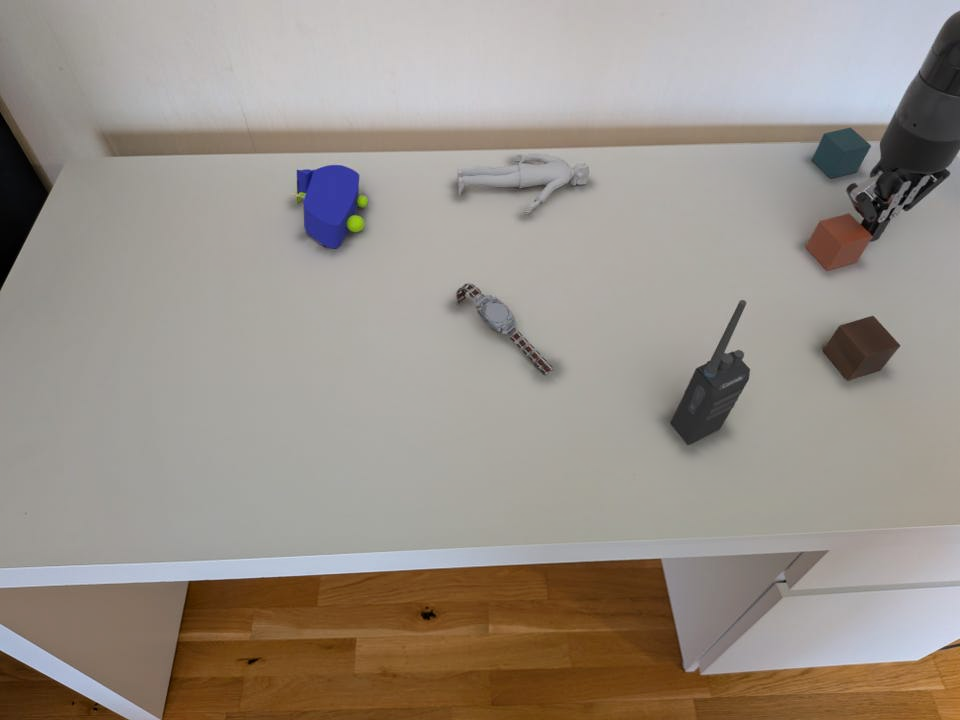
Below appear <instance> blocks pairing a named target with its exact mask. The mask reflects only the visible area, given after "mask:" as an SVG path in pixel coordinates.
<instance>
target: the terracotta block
mask: <svg viewBox="0 0 960 720" xmlns="http://www.w3.org/2000/svg"><path fill="white" fill-rule="evenodd" d="M872 237H873V236H872V235H871V234H870V233H869V232H868V231H867V230H866V229H865V228H864V227H863V226H862V225H861V222H859V221H858V219H856V218H855V217H854V216H853V214H851V213H844V214H841V215H837V216H834V217H829V218H826V219H821V220H819V221H818V223H817V224H816V227H815V229H814V230H813V233H812V235H811V236H810V238H809V239H808V242H807V244H806V246H805V249H806V250H807V251H808V252H809V253H810V255H812V256H813V258H814V259H815V260H816V261H817V262H818V263H819V264H820V265H821V266H822V268H823V269H824V270H825V271H827V272H828V271H831V270H836V269H839V268H842V267H846V266H849V265H853V264H857V263H858V262H859V260H860V258H861V256H862V255H863V253H864V251H865V250H866V248H867V247H868V245H869V243H871V242H870V240H871V239H872Z"/></svg>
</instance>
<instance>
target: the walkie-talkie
mask: <svg viewBox="0 0 960 720" xmlns="http://www.w3.org/2000/svg"><path fill="white" fill-rule="evenodd" d="M746 305H747V301H746V300H745V299H741V300H739V302H738V304H737V306H736V308H735V309H734V312H733V314H732V316H731V318H730V320H729V321H728V323H727V326H726V328H725V330H724V332H723V333H722V335H721V338H720V340H719V342H718V343H717V346H716V348H715V350H714V351H713V354H712V355H711V358H710V360H708V361H707V362H706V363H704V364H702V365H700V366H698V367H696V368H695V370H694V372H693V374H692V376H691V379H690V380H689V382H688V385H687V387H686V389H685V391H684V393H683V395H682V398H681V399H680V402H679V404H678V406H677V408H676V410H675V413H674V415H673V416H672V418H671V421H670V424H671V425H672V427H673V428H674V429H675V430H676V432H677V433H678V434H679V435H680V436H681V437H682V439H683V440H684V442H685V443H686V444H687V445H692V444H694V443H697V442H698V441H700V440H702V439H704V438H706V437H708V436H711V435H712V434H713V433H715V432H717V431H719V430H721V429H722V428H723V425H724V423H725V422H726V420H727V418H728V416H729V414H730V413H731V412H732V409H733V408H734V407H735V404H736V402H738V401H739V398H740V396H741V394H742V393H743V390H744V389H745V388H746V385H747V383H748V382H749V381H750V375H751V374H750V373H751V368H750V367H749V366H748V365H747V364H746V363H745V361H744V360H743V359H744V358H745V352H744V351H743V350H740V349H736V350H735V351H730V352H728V353H727V352H726V351H727V348H728V345H729V343H730V341H731V339H732V336H733V334H734V332H735V330H736V327H737V325H738V324H739V321H740V319H741V317H742V314H743V313H744V310H745V308H746Z"/></svg>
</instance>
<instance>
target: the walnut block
mask: <svg viewBox="0 0 960 720" xmlns="http://www.w3.org/2000/svg"><path fill="white" fill-rule="evenodd" d="M901 346H902V345H901V344H900V343H899V342H898V341H897V340H896V338H895V337H894V336H893V335H892V334H891V333H890V332H889V331H888V329H886V328H885V327H884V325H883V324H882V323H881V322H880V321H879V320H878V319H877V318H876V317H875V316H874V315H870V316H867V317H862V318H860V319H857V320H852V321H850V322H846V323H843V324H840V325H838V326H837V327H836V329H835V331H834V332H833V334H832V336H831V337H830V339H829V340H828V342H827V343H826V344H825V346H824V348H822V352H823V353H824V355H825V356H827V358H828V359H829V361H830V362H831V363H832V364H833V366H834V367H835V368H836V369H837V370H838V372H839V373H840V374H841V375H842V376H843V378H844V379H845V380H846V381H852V380H855V379H858V378H862V377H865V376H867V375H870V374H873V373H876V372H880V371H881V370H882V369H883V368H884V367H885V366H886V365H887V363H888V362H889V361H890V360H891V358H892V357H893V356H894V354H896V353H897V351H898V350H899V349H900V347H901Z"/></svg>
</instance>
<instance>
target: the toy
mask: <svg viewBox="0 0 960 720" xmlns="http://www.w3.org/2000/svg"><path fill="white" fill-rule="evenodd" d="M359 188H360V174H359V173H358V172H357V171H356V170H354V169H352V168H350V167H348V166H345V165H342V164H328V165H325V166H321V167H319V168H316V169H296V193H295V192H291V195H292V196H296V199H297V200H296V201H297V202H296V203H297V204H298V203H299V202H301V199H303V228H304V230H305V232H306V233H307V234H308V235H309V236H310V237H311V238H313V239H314V240H315V241H317V243H320V245H323V247H324V248H326V247H327V248H330V249H338V248H339V247H340V246H341V245H342V243H343V242H344V240H345V238H346V237H347V234H348V233H349V231H350V232H352V233H358V232H360V231H362V230H363V229H364V227H365V221H364V219H363V217H361V216H360V215H357V209H358V207H359V208H366V207H367V205H368V203H369V200H368V198H367V196H365V195H359V190H360V189H359Z"/></svg>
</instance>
